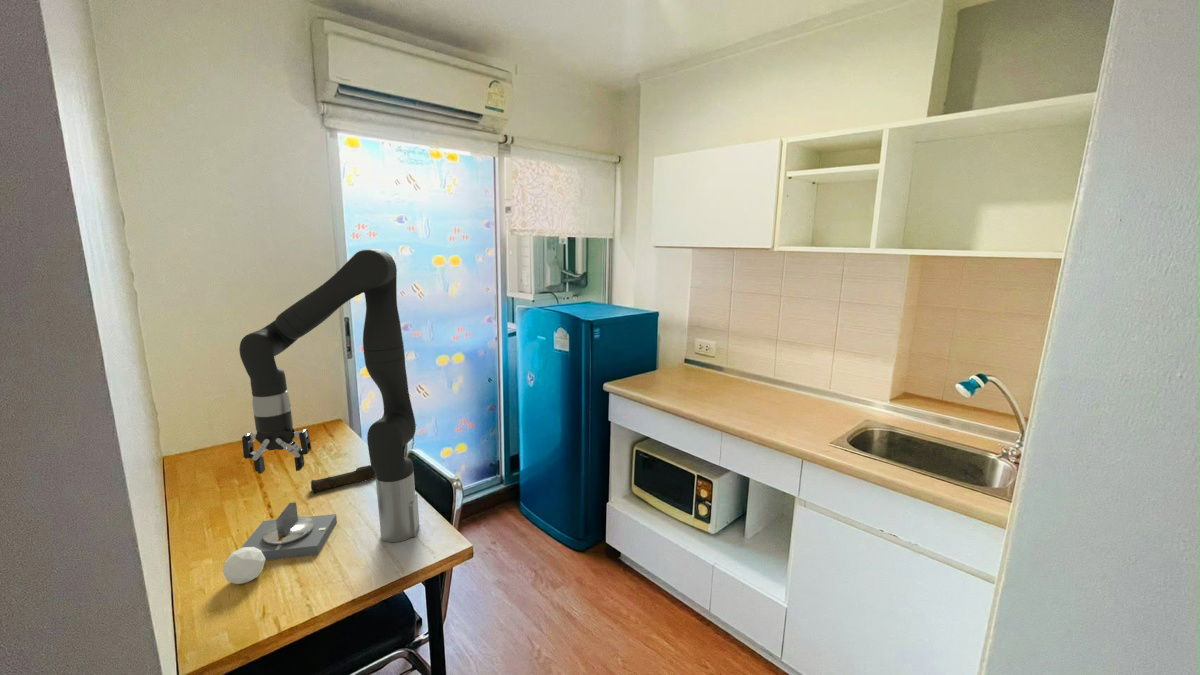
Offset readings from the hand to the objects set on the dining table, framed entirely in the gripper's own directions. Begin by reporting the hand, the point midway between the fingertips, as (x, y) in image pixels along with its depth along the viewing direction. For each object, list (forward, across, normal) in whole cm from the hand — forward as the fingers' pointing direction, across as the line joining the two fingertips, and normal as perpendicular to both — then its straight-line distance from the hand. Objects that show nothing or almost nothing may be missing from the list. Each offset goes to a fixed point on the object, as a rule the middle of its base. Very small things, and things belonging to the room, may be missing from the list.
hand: (280, 470), depth 119 cm
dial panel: (+20, 0, 0) cm, 20 cm away
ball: (+20, -4, -13) cm, 25 cm away
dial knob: (+17, 0, 0) cm, 17 cm away
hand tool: (+20, +5, +30) cm, 36 cm away
